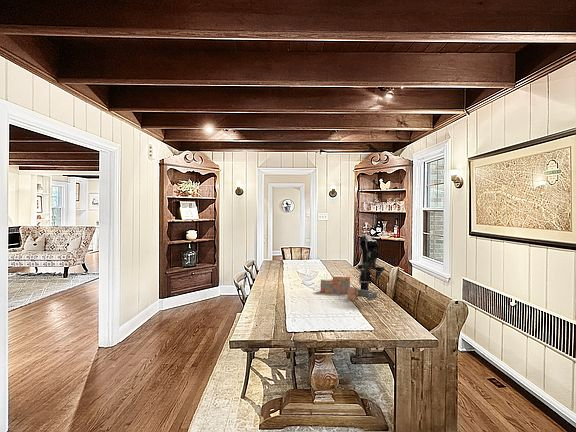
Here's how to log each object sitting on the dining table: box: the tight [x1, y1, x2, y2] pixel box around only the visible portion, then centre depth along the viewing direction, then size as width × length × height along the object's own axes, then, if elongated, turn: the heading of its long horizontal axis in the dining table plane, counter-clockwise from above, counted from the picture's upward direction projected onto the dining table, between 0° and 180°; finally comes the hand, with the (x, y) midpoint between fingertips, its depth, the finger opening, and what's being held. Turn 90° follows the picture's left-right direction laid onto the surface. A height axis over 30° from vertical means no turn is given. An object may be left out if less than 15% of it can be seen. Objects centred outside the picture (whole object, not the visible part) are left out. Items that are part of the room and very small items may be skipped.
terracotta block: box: [347, 286, 359, 301], centre depth 312 cm, size 5×5×8 cm
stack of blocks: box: [320, 274, 351, 294], centre depth 338 cm, size 21×6×12 cm, turn 87°
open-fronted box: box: [358, 288, 378, 301], centre depth 322 cm, size 11×17×4 cm, turn 50°
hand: (370, 280), depth 322 cm, fingers open, 9 cm apart
